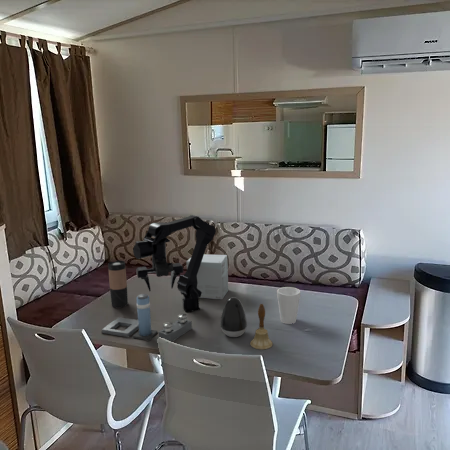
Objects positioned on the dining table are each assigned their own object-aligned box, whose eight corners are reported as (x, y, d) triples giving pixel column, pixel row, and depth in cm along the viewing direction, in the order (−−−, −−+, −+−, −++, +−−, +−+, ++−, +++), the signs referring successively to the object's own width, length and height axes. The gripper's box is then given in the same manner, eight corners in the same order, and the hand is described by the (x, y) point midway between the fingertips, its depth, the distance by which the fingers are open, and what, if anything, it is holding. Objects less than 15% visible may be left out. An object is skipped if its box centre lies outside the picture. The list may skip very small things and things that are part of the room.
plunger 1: (171, 332, 176) (171, 321, 175) (173, 336, 172) (173, 325, 171) (162, 333, 175) (162, 323, 174) (164, 337, 171) (163, 327, 170)
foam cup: (286, 314, 194) (286, 285, 191) (304, 320, 187) (304, 290, 184) (272, 321, 187) (272, 291, 184) (290, 327, 181) (290, 297, 178)
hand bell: (277, 345, 167) (277, 304, 164) (259, 352, 162) (259, 310, 159) (262, 336, 174) (262, 297, 170) (245, 343, 169) (245, 303, 165)
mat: (157, 332, 179) (157, 330, 179) (148, 340, 173) (148, 338, 172) (142, 330, 181) (142, 328, 181) (132, 337, 175) (132, 335, 175)
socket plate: (143, 324, 187) (143, 320, 186) (127, 337, 176) (127, 333, 175) (119, 320, 191) (118, 317, 190) (101, 332, 180) (101, 329, 180)
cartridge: (147, 329, 180) (145, 292, 177) (154, 333, 177) (151, 296, 173) (136, 332, 177) (133, 295, 174) (142, 337, 174) (139, 299, 170)
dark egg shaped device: (228, 342, 170) (228, 305, 166) (216, 332, 178) (215, 295, 175) (252, 336, 174) (251, 299, 171) (239, 326, 183) (238, 290, 180)
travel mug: (124, 308, 203) (120, 265, 199) (108, 307, 205) (104, 265, 200) (130, 301, 211) (127, 260, 206) (115, 300, 212) (112, 260, 208)
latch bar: (181, 325, 185) (180, 318, 184) (191, 328, 182) (191, 321, 181) (158, 339, 173) (158, 331, 172) (169, 342, 170) (169, 335, 170)
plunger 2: (186, 323, 183) (185, 313, 182) (188, 326, 180) (187, 316, 179) (177, 324, 182) (176, 314, 181) (179, 328, 179) (178, 318, 178)
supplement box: (229, 289, 223) (228, 254, 219) (222, 300, 211) (221, 262, 206) (195, 287, 227) (194, 253, 223) (187, 297, 214) (185, 261, 210)
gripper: (138, 261, 175) (140, 299, 179) (185, 256, 181) (187, 293, 184) (135, 254, 186) (137, 290, 189) (179, 249, 191) (181, 284, 194)
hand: (160, 289), depth 189 cm, fingers open, 9 cm apart
